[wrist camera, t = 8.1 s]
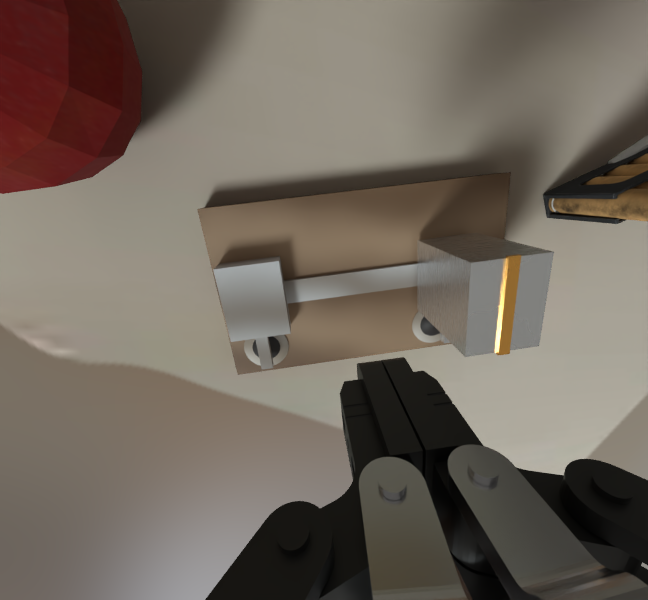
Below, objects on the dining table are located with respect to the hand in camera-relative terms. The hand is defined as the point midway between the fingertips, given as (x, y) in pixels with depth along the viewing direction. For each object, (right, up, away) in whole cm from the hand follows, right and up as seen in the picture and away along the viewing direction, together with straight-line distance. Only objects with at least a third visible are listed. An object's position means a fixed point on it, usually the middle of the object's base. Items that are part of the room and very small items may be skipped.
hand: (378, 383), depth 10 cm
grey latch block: (+7, +4, +12) cm, 14 cm away
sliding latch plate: (+1, +5, +13) cm, 14 cm away
